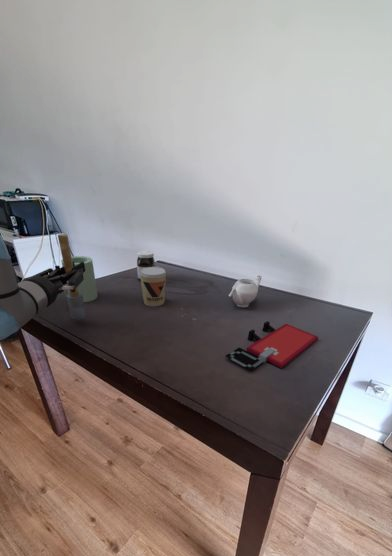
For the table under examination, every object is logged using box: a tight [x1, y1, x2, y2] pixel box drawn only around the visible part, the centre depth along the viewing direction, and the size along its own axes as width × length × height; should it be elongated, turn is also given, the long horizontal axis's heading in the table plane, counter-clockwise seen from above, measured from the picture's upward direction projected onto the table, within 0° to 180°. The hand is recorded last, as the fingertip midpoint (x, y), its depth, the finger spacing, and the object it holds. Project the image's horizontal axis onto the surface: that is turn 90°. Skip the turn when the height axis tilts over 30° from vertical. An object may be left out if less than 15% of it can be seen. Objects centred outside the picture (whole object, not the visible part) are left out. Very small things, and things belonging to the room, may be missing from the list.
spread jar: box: [136, 250, 161, 282], centre depth 124 cm, size 12×11×12 cm
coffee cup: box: [140, 266, 167, 307], centre depth 103 cm, size 9×9×12 cm
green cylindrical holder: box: [60, 255, 99, 303], centre depth 104 cm, size 10×10×14 cm
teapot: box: [228, 275, 262, 308], centre depth 106 cm, size 10×20×9 cm, turn 138°
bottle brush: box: [57, 233, 87, 320], centre depth 82 cm, size 4×4×24 cm
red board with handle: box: [225, 320, 319, 371], centre depth 82 cm, size 30×3×15 cm
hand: (78, 266), depth 85 cm, fingers closed on bottle brush, 2 cm apart
